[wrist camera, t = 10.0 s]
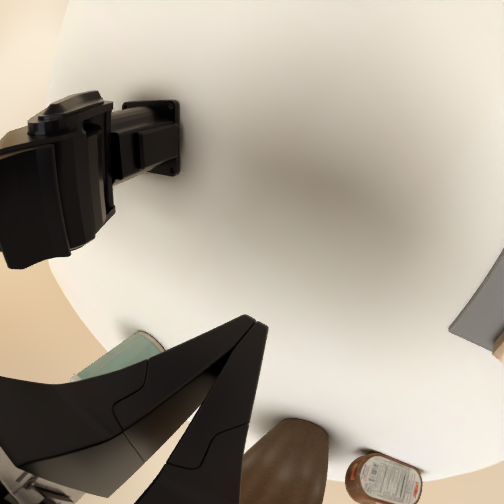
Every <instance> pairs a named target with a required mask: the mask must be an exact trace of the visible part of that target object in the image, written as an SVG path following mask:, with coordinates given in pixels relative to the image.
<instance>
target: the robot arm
mask: <svg viewBox="0 0 504 504" xmlns="http://www.w3.org/2000/svg"><path fill="white" fill-rule="evenodd" d="M171 104H172V105H173V108H172V107H171ZM112 109H113V102H112V101H104V100H103V98H101V96H100V94H99V92H98V91H88V92H83V93H78V94H74V95H70V96H68V97H65V98H63V99H61V100H58V101H56V102H54V103H51V104H50V105H49V106H48V108H46V109H44V110H43V111H41V112H40V113H38V114H36V115H35V116H34V117H32V118H30V119H29V120H28V126H25V127H22V128H19V129H16V130H13V131H10V132H8V133H7V134H6V135H5V136H4V137H3V138H2V139H1V140H0V252H2V253H3V255H4V258H5V261H6V263H7V266H8V268H10V269H25V268H27V267H29V266H31V265H33V264H36V263H38V262H41V261H43V260H46V259H51V258H55V257H69V256H70V255H71V251H73V250H76V249H78V248H81V247H82V246H84V245H85V244H87V243H89V242H90V241H92V240H93V239H94V238H95V234H96V233H97V232H98V231H99V230H100V229H101V227H102V226H103V225H104V224H105V223H106V222H107V221H108V220H109V219H110V218H111V217H112V216H113V215H114V214H115V205H114V201H113V186H115V185H117V184H119V183H122V182H124V181H126V180H128V179H131V178H133V177H135V176H138V175H140V174H142V173H145V172H151V173H156V174H162V175H167V176H176V175H178V174H179V171H180V169H179V128H178V102H177V101H176V100H150V101H132V102H125V103H123V105H122V110H120V111H115V112H112ZM173 169H174V171H173ZM267 334H268V326H267V325H265V324H263V323H261V322H259V321H257V322H256V320H255V319H254V318H252V317H250V316H248V315H246V314H244V315H241V316H239V317H237V318H235V319H233V320H231V321H229V322H227V323H225V324H223V325H221V326H218V327H216V328H214V329H212V330H210V331H208V332H206V333H204V334H201V335H199V336H197V337H195V338H193V339H190V340H188V341H186V342H184V343H182V344H179V345H177V346H175V347H173V348H170V349H168V350H166V351H164V352H161V353H159V354H157V355H154V356H152V357H150V358H149V359H145V360H143V361H140V362H138V363H135V364H133V365H130V366H128V367H125V368H122V369H119V370H116V371H113V372H109V373H106V374H102V375H99V376H95V377H91V378H87V379H83V380H79V381H74V382H70V383H65V384H44V383H36V382H29V381H24V380H18V379H12V378H6V377H2V376H0V504H75V503H76V502H77V501H78V500H79V499H80V498H81V497H82V496H83V495H84V494H85V493H90V494H93V495H97V496H101V497H106V498H108V497H109V496H110V495H112V494H113V493H114V492H115V491H116V490H117V489H118V488H119V487H120V486H121V485H122V484H123V483H125V482H126V481H127V480H128V479H129V478H130V477H131V476H132V475H133V474H134V473H135V472H136V471H137V470H138V469H139V468H140V467H141V466H142V465H143V464H144V463H145V462H146V461H147V460H148V459H149V458H150V457H151V456H152V455H153V454H154V453H155V452H156V451H157V450H158V449H159V448H160V447H161V446H162V445H163V444H164V443H165V442H166V441H167V440H168V439H169V438H170V437H171V436H172V435H173V434H174V433H175V432H176V431H177V429H178V428H179V427H180V426H181V425H182V424H183V423H184V422H185V421H186V420H187V419H188V418H189V417H190V416H191V415H192V414H193V412H194V411H195V410H196V409H197V408H198V407H199V406H200V405H201V406H200V407H199V409H198V411H197V412H196V414H195V416H194V417H193V419H192V421H191V422H190V424H189V426H188V427H187V429H186V431H185V433H184V434H183V436H182V437H181V439H180V440H179V442H178V444H177V445H176V447H175V449H174V450H173V452H172V453H171V455H170V457H169V458H168V460H167V461H166V464H165V465H164V466H163V468H162V469H161V471H160V472H159V474H158V475H157V476H156V478H155V479H154V480H153V482H152V483H151V484H150V485H149V487H148V488H147V489H146V490H145V491H144V493H143V494H142V495H141V496H140V497H139V499H138V500H137V501H136V502H135V503H134V504H240V490H241V476H242V464H243V455H244V448H245V443H246V437H247V433H248V428H249V423H250V418H251V414H252V409H253V404H254V399H255V395H256V390H257V385H258V380H259V375H260V370H261V365H262V360H263V355H264V350H265V345H266V339H267Z"/></svg>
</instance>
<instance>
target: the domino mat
mask: <svg viewBox="0 0 504 504" xmlns="http://www.w3.org/2000/svg"><path fill="white" fill-rule="evenodd" d="M449 332H451V333H453V334H455V335H457V336H459V337H462V338H464V339H466V340H468V341H470V342H472V343H475V344H477V345H479V346H481V347H483V348H485V349H487V350H490V351H492V352H493V344H494V342H495V341H496V340H497V339H498V337H499V336H500V335H501V334H502V333H503V332H504V250H503V251H502V253H501V255H500V256H499V258H498V260H497V261H496V263H495V265H494V266H493V268H492V269H491V271H490V272H489V274H488V275H487V277H486V278H485V280H484V281H483V283H482V284H481V286H480V287H479V289H478V290H477V292H476V293H475V294H474V296H473V297H472V299H471V300H470V301H469V303H468V304H467V305H466V307H465V308H464V309H463V311H462V312H461V313H460V315H459V316H458V317H457V318H456V320H455V321H454V322H453V323H452V325H451V326H450V327H449Z"/></svg>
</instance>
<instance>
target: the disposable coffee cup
mask: <svg viewBox="0 0 504 504" xmlns="http://www.w3.org/2000/svg"><path fill="white" fill-rule="evenodd" d="M161 352H164V349H163V348H162V346H161V345H160V344H159V343H158V342H157V341H156V340H155V339H154V338H152V337H151V336H149V335H148V334H147V333H144V332H141V331H140V332H138V333H135V334H133V335H132V336H130V337H129V338H128V339H126V340H125V341H123V342H122V343H121V344H119V345H118V346H116V347H115V348H113V349H112V350H111V351H109V352H108V353H106V354H105V355H104V356H102V357H101V358H99V359H98V360H97V361H95V362H94V363H92V364H91V365H89V366H88V367H87V368H85V369H84V370H83V371H81V372H79V373H78V374H77V375H76V374H73V376H72V377H71V378H70V382H74V381H79V380H83V379H87V378H91V377H95V376H99V375H102V374H106V373H109V372H113V371H116V370H119V369H122V368H125V367H128V366H130V365H133V364H135V363H138V362H140V361H143V360H145V359H149V358H150V357H152V356H154V355H157V354H159V353H161Z"/></svg>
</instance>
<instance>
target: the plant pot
mask: <svg viewBox="0 0 504 504" xmlns="http://www.w3.org/2000/svg"><path fill="white" fill-rule="evenodd" d="M327 470H328V435H327V433H326V432H325V431H324V430H323V429H322V428H321V427H319V426H317V425H315V424H313V423H311V422H308V421H305V420H300V419H285V420H283V421H281V422H280V423H279V424H278V425H276V426H275V427H274V428H273V429H272V430H270V431H269V432H268V433H267V434H266V435H265V436H263V437H262V438H261V439H260V440H259V441H258V442H257V443H256V444H254V445H253V446H252V447H251V448H250V449H249V450H248V451H247V452H246V453H245V454H244V455H243V464H242V476H241V490H240V504H322V502H323V497H324V492H325V486H326V479H327Z"/></svg>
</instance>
